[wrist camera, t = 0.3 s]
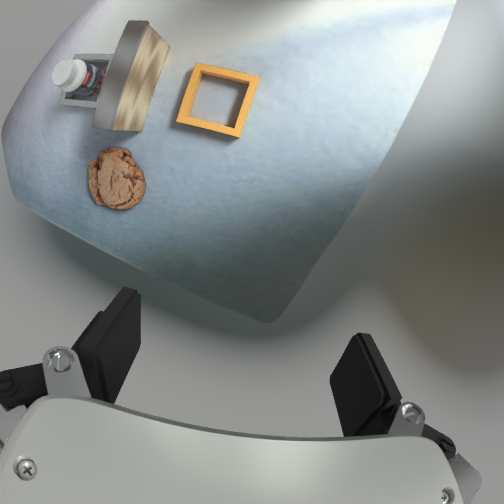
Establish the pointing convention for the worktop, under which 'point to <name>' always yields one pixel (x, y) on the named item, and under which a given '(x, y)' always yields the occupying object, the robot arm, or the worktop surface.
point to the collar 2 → (223, 73)
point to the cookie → (116, 179)
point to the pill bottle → (77, 77)
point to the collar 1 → (67, 96)
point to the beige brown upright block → (131, 79)
